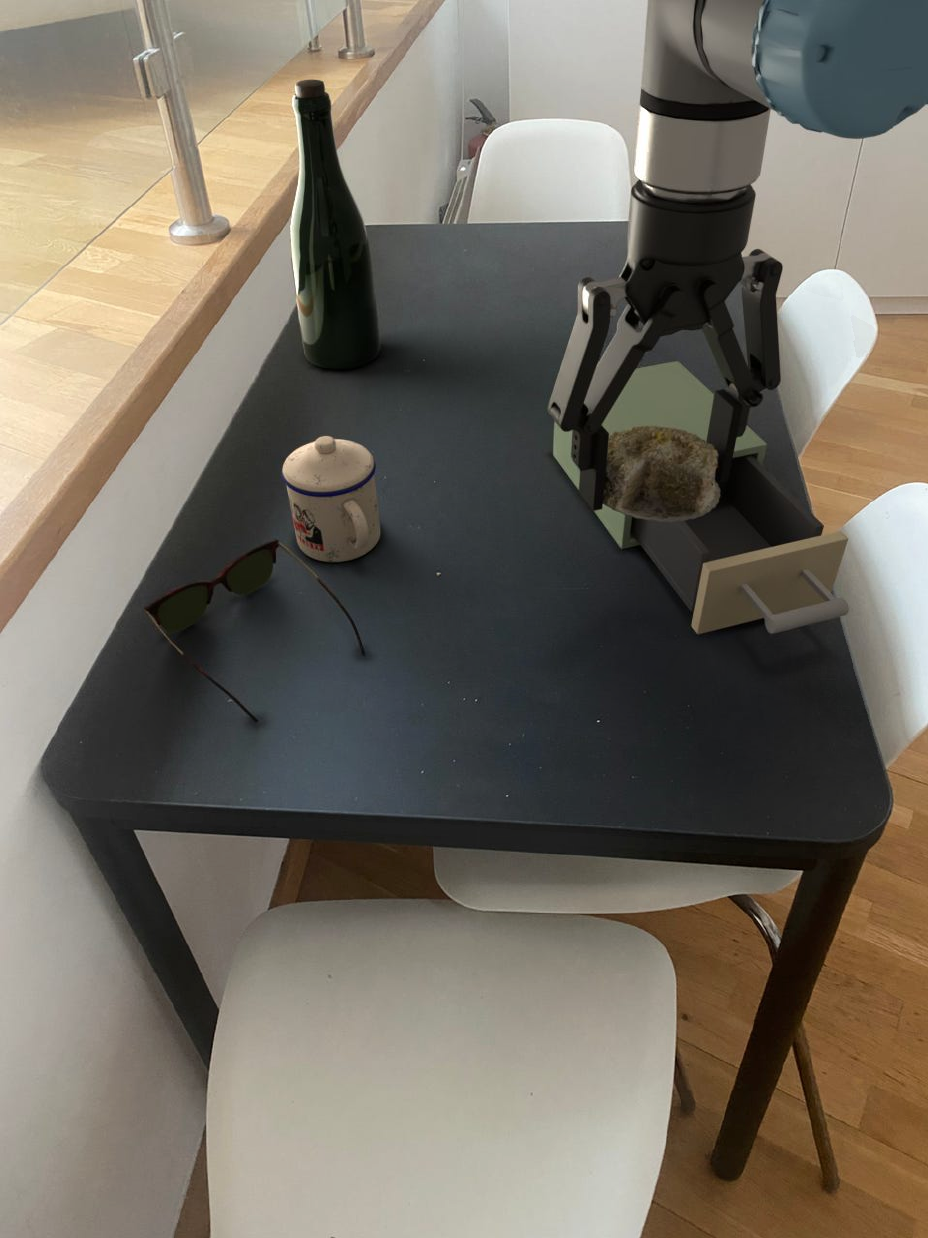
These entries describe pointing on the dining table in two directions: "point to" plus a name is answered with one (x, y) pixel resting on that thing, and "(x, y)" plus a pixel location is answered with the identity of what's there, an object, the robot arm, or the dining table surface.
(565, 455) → the green drawer box
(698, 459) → the cake
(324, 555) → the teacup with lid
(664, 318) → the robot arm
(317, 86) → the green wine bottle
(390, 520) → the dining table surface
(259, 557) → the sunglasses
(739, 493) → the pull-out drawer
